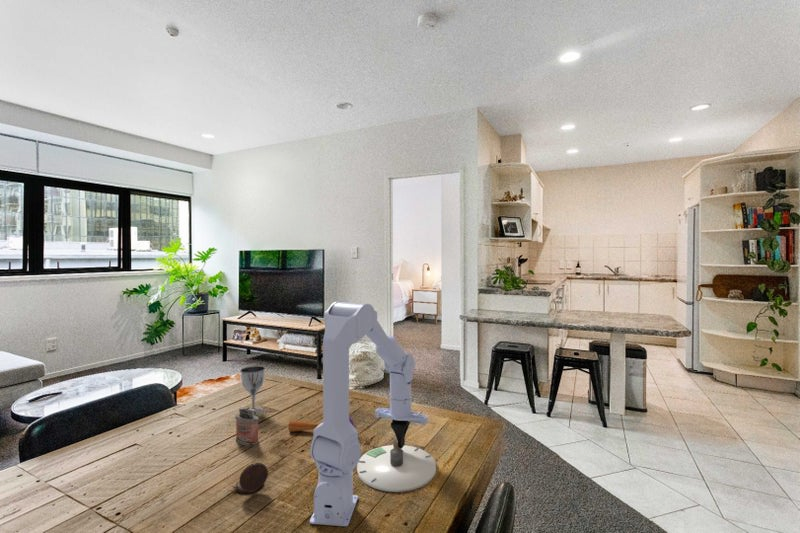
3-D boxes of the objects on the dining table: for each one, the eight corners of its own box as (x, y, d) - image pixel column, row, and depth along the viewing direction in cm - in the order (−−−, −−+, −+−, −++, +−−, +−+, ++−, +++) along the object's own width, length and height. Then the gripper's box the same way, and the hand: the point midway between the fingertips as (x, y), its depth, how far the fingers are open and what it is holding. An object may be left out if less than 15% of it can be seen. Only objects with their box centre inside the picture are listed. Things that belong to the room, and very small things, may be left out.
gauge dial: (435, 494, 87) (435, 489, 87) (348, 488, 89) (348, 483, 89) (436, 450, 107) (436, 446, 107) (366, 446, 109) (366, 442, 109)
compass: (259, 475, 95) (259, 446, 95) (268, 491, 88) (268, 460, 88) (224, 486, 90) (223, 456, 90) (231, 504, 84) (231, 471, 84)
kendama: (294, 414, 123) (355, 413, 119) (295, 434, 121) (356, 433, 118) (286, 418, 117) (350, 417, 114) (286, 439, 116) (350, 438, 113)
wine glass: (240, 409, 136) (240, 367, 135) (264, 405, 139) (263, 364, 139) (241, 418, 129) (241, 373, 128) (266, 413, 132) (266, 370, 132)
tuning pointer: (403, 466, 96) (403, 454, 96) (390, 466, 96) (390, 454, 96) (400, 445, 107) (400, 434, 107) (389, 445, 107) (389, 435, 107)
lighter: (232, 441, 112) (232, 407, 112) (242, 436, 115) (242, 403, 115) (252, 447, 109) (251, 412, 108) (261, 442, 112) (261, 408, 111)
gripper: (430, 395, 104) (431, 444, 105) (382, 388, 110) (383, 435, 110) (422, 404, 98) (422, 457, 98) (371, 397, 103) (371, 446, 104)
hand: (401, 446), depth 104 cm, fingers closed, pressing on tuning pointer
